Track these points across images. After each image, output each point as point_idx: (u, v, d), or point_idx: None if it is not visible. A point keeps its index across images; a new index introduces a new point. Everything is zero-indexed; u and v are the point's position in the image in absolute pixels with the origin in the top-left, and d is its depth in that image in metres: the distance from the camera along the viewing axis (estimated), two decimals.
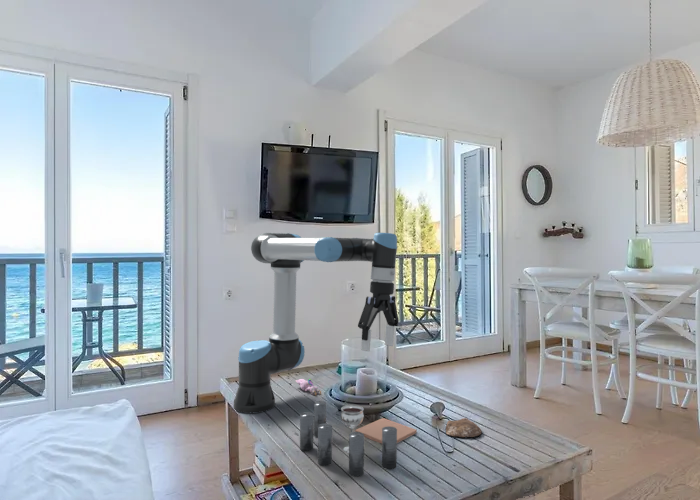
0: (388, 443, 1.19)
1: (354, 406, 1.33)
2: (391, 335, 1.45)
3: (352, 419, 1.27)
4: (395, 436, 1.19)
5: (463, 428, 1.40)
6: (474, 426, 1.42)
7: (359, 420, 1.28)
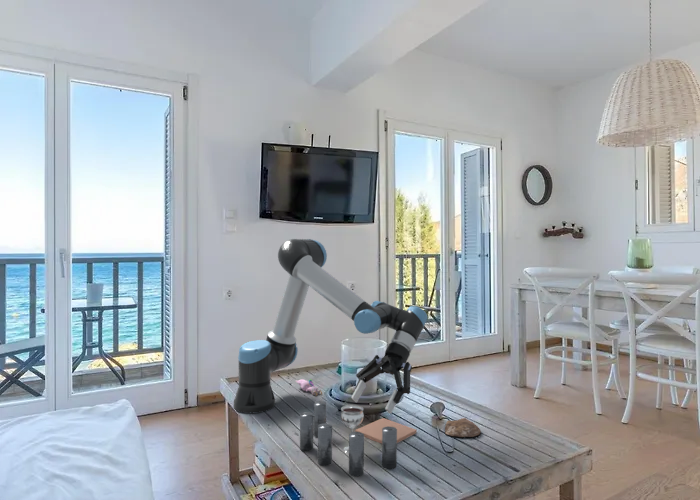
0: (388, 443, 1.19)
1: (354, 406, 1.33)
2: (361, 392, 1.41)
3: (352, 419, 1.27)
4: (395, 436, 1.19)
5: (462, 428, 1.40)
6: (473, 426, 1.42)
7: (359, 420, 1.28)
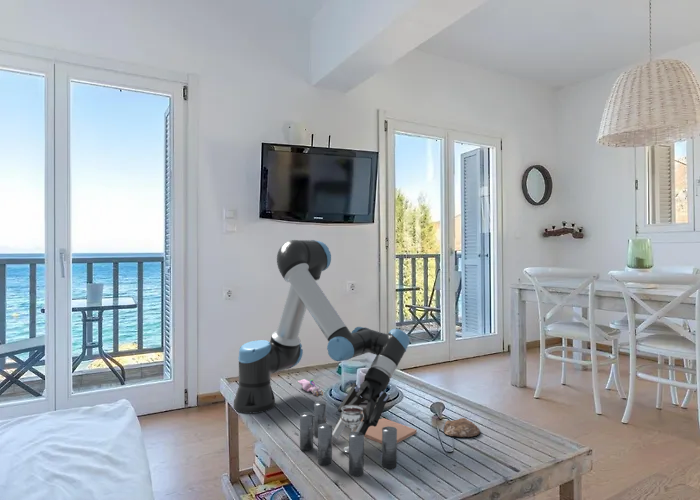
0: (388, 443, 1.19)
1: (354, 406, 1.33)
2: (343, 428, 1.32)
3: (352, 419, 1.27)
4: (395, 436, 1.19)
5: (461, 428, 1.40)
6: (472, 426, 1.42)
7: (359, 421, 1.28)
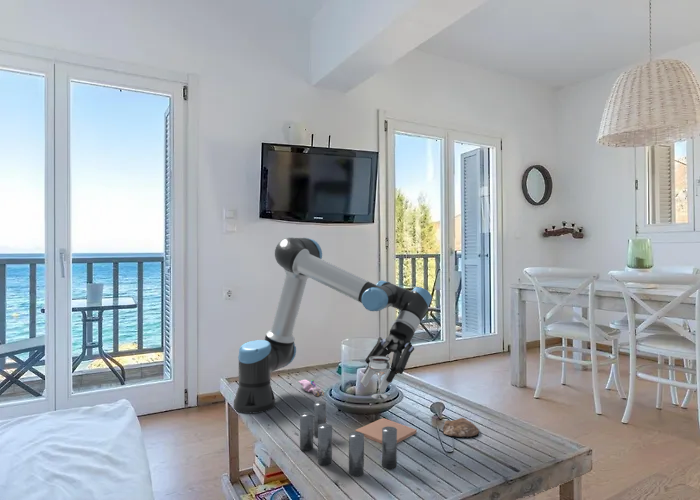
0: (388, 443, 1.19)
1: (381, 357, 1.41)
2: (370, 377, 1.41)
3: (380, 367, 1.35)
4: (395, 436, 1.19)
5: (460, 428, 1.40)
6: (471, 426, 1.42)
7: (386, 368, 1.36)
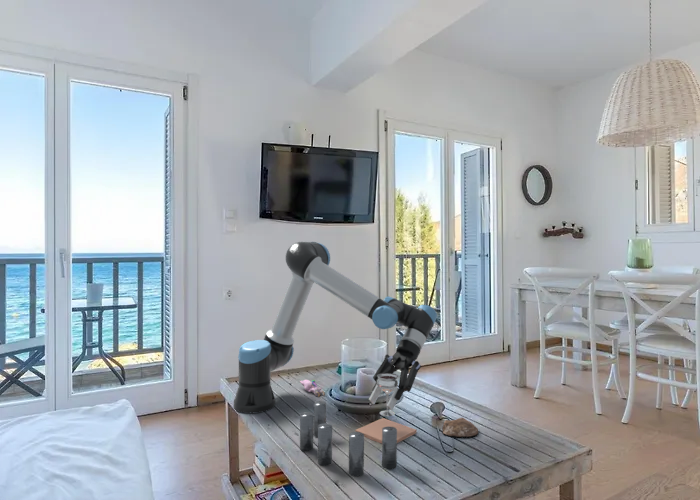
0: (388, 443, 1.19)
1: (388, 374, 1.45)
2: (378, 394, 1.44)
3: (388, 385, 1.38)
4: (395, 436, 1.19)
5: (459, 428, 1.40)
6: (471, 426, 1.42)
7: (394, 386, 1.39)
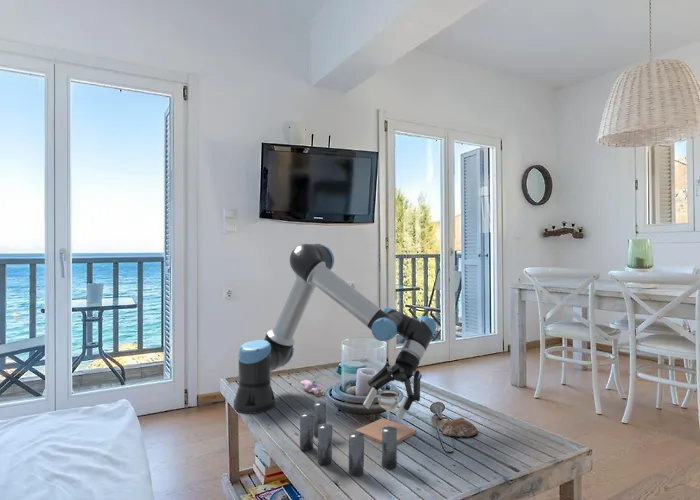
0: (388, 443, 1.19)
1: (389, 391, 1.44)
2: (372, 399, 1.47)
3: (389, 402, 1.38)
4: (395, 436, 1.19)
5: (459, 428, 1.41)
6: (470, 426, 1.42)
7: (395, 404, 1.39)
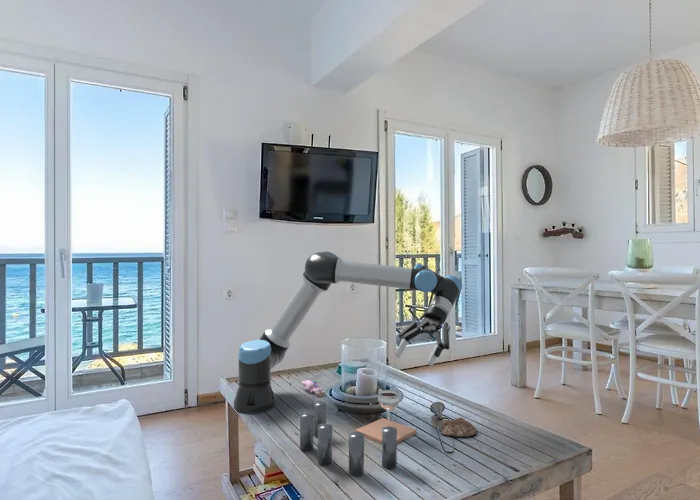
0: (388, 443, 1.19)
1: (389, 391, 1.44)
2: (403, 349, 1.57)
3: (390, 402, 1.38)
4: (395, 436, 1.19)
5: (458, 428, 1.41)
6: (469, 426, 1.42)
7: (396, 404, 1.39)
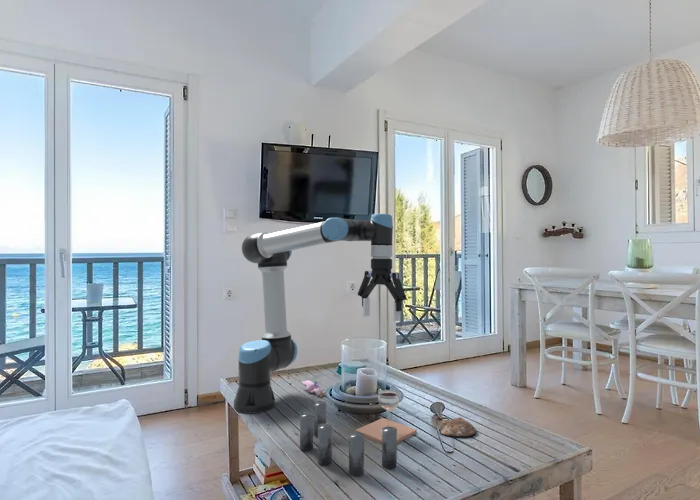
0: (388, 443, 1.19)
1: (389, 391, 1.44)
2: (369, 306, 1.60)
3: (390, 402, 1.38)
4: (395, 436, 1.19)
5: (457, 428, 1.41)
6: (468, 425, 1.42)
7: (396, 404, 1.39)
